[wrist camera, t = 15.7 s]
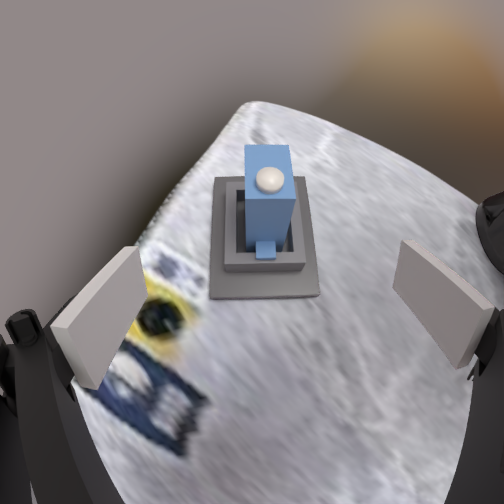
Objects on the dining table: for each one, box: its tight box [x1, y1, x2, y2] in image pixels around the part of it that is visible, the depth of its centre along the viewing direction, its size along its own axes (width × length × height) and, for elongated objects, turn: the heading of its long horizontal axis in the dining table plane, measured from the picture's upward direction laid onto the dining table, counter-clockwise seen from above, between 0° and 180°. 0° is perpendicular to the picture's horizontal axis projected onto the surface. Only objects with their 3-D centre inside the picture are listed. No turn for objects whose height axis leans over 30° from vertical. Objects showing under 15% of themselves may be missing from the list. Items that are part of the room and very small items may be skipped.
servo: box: [245, 145, 296, 260], centre depth 27 cm, size 10×4×12 cm, turn 1°
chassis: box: [210, 176, 320, 299], centre depth 32 cm, size 16×12×4 cm
